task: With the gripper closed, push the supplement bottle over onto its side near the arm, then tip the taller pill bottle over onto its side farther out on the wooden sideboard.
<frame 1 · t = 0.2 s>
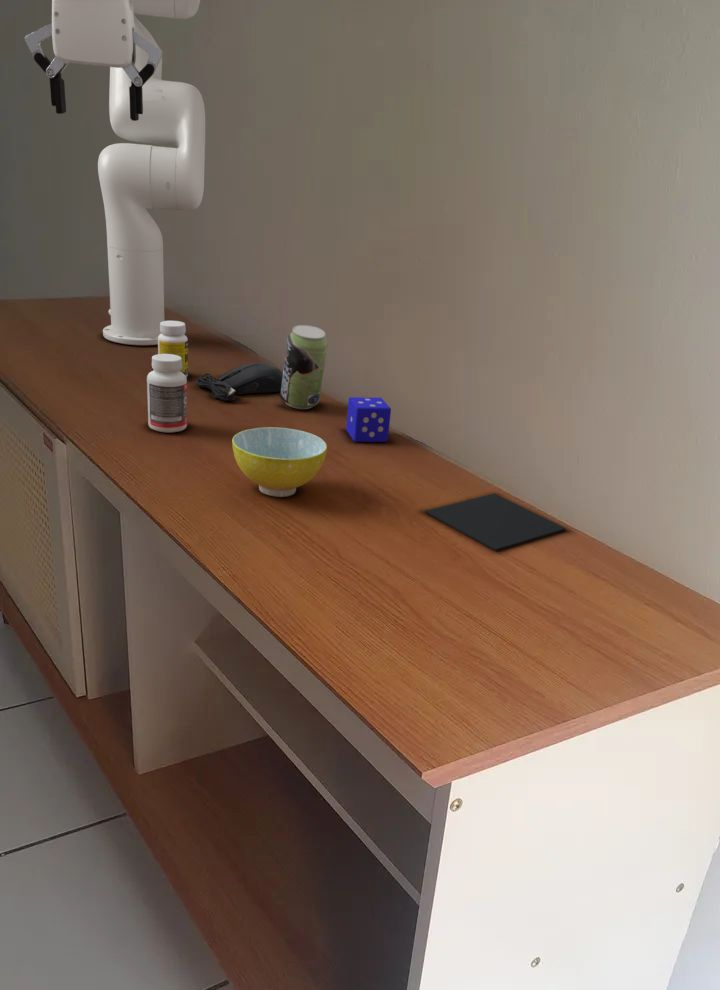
hand: (98, 116, 126), 37 cm above the table, tool pointing down, fingers open, 9 cm apart
die: (366, 437, 136), on the table
computer mouse: (247, 391, 150), on the table
supplement bottle: (173, 377, 154), on the table
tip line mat: (494, 521, 113), on the table
beverage can: (301, 407, 145), on the table
pill bottle: (167, 428, 132), on the table
bowl: (277, 491, 116), on the table
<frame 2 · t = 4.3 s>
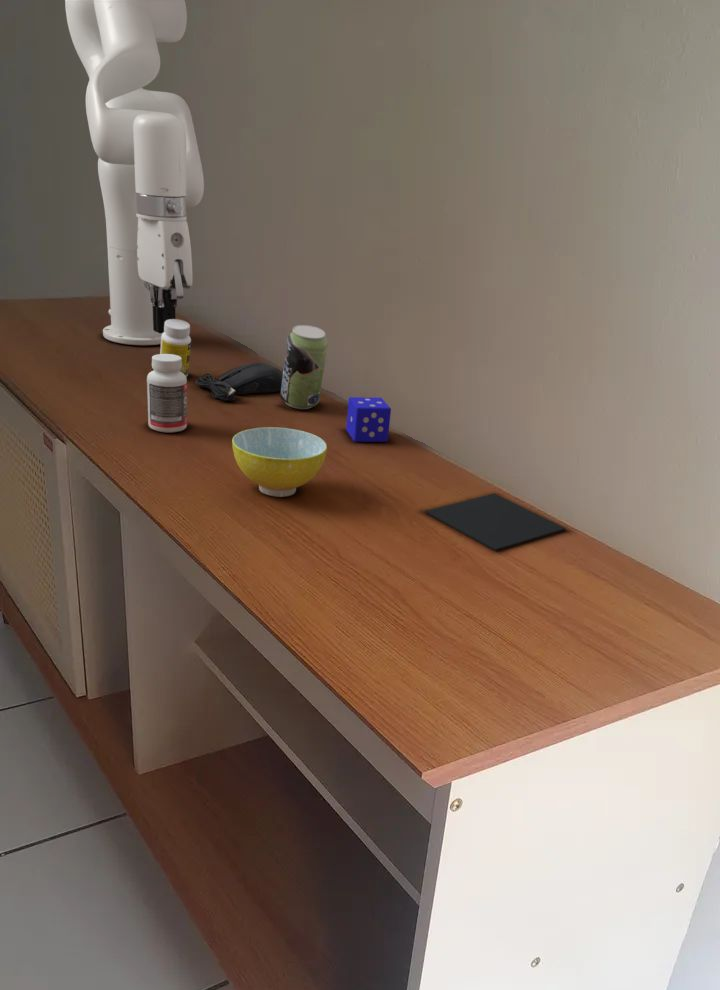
hand: (164, 331, 152), 7 cm above the table, tool pointing down, fingers closed
supplement bottle: (173, 374, 153), on the table, touching gripper
everything else where it was.
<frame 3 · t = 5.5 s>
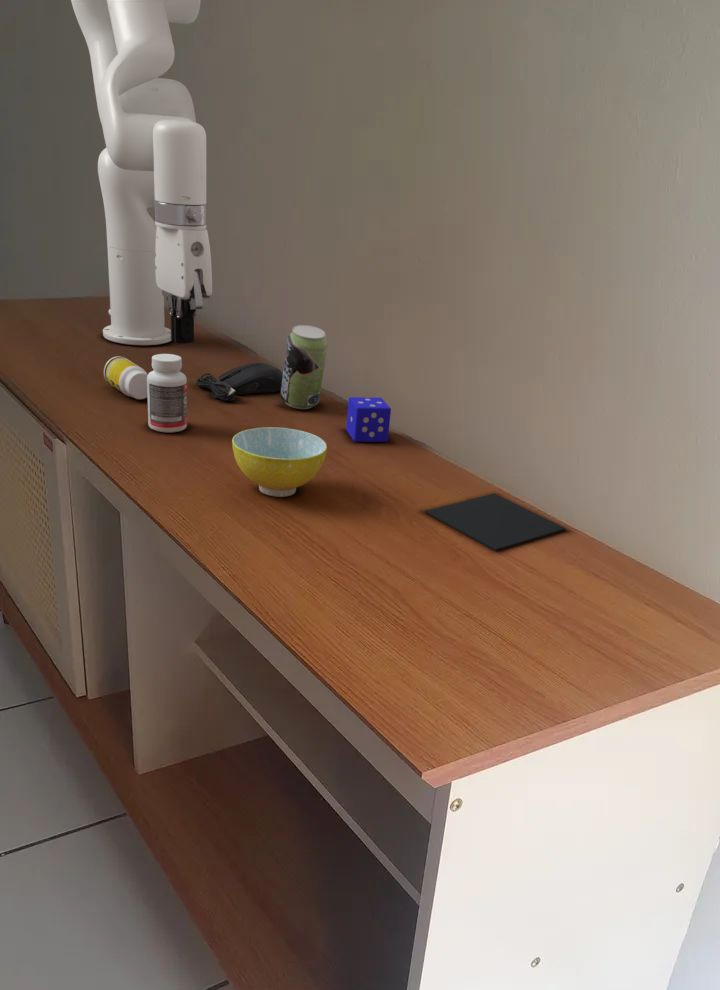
hand: (182, 341, 148), 6 cm above the table, tool pointing down, fingers closed
supplement bottle: (117, 371, 145), point 2 cm above the table
everything else where it was.
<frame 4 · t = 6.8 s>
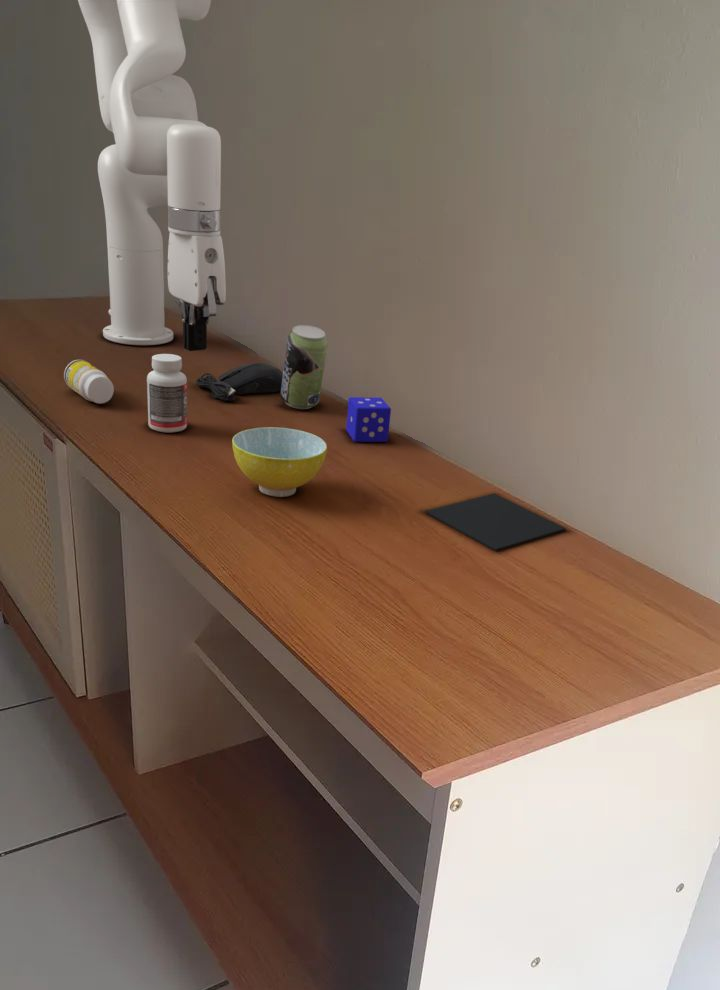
hand: (194, 348, 146), 6 cm above the table, tool pointing down, fingers closed
supplement bottle: (78, 374, 142), point 2 cm above the table
everything else where it was.
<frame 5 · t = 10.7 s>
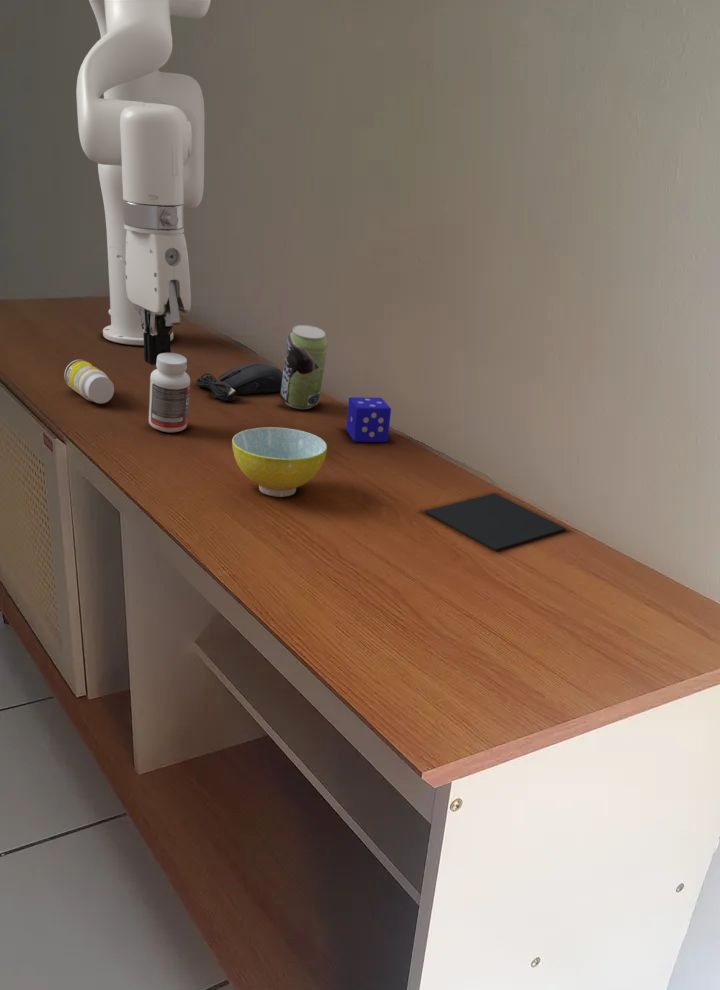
hand: (157, 362, 129), 9 cm above the table, tool pointing down, fingers closed
pill bottle: (167, 426, 132), on the table, touching gripper
everything else where it was.
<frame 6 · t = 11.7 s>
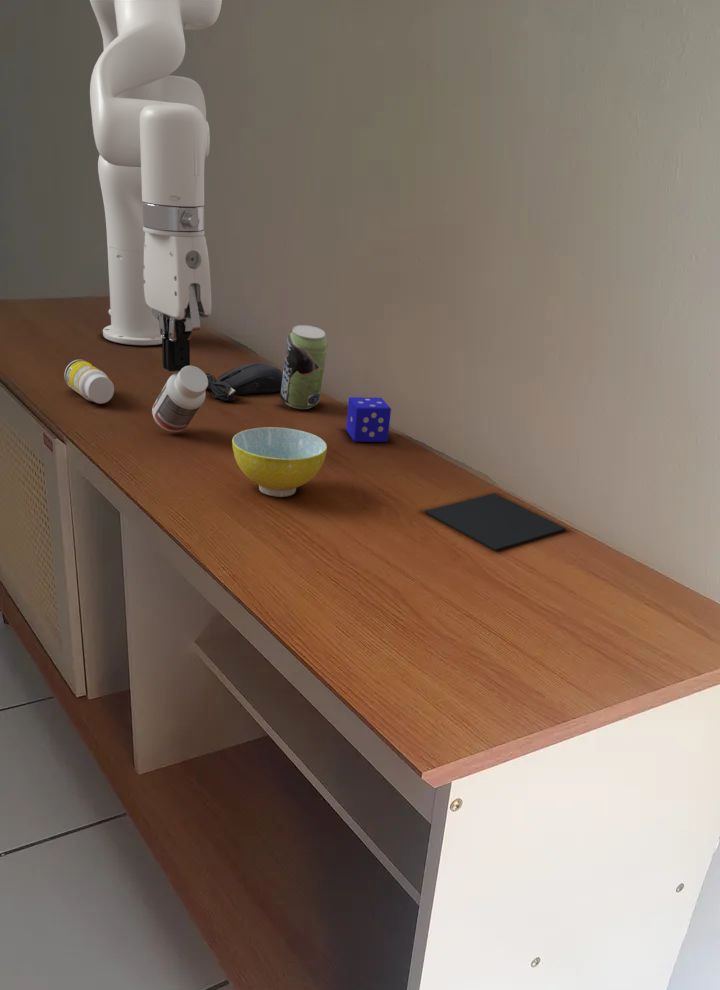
hand: (176, 368, 125), 9 cm above the table, tool pointing down, fingers closed
pill bottle: (169, 416, 131), point 2 cm above the table, touching gripper
everything else where it was.
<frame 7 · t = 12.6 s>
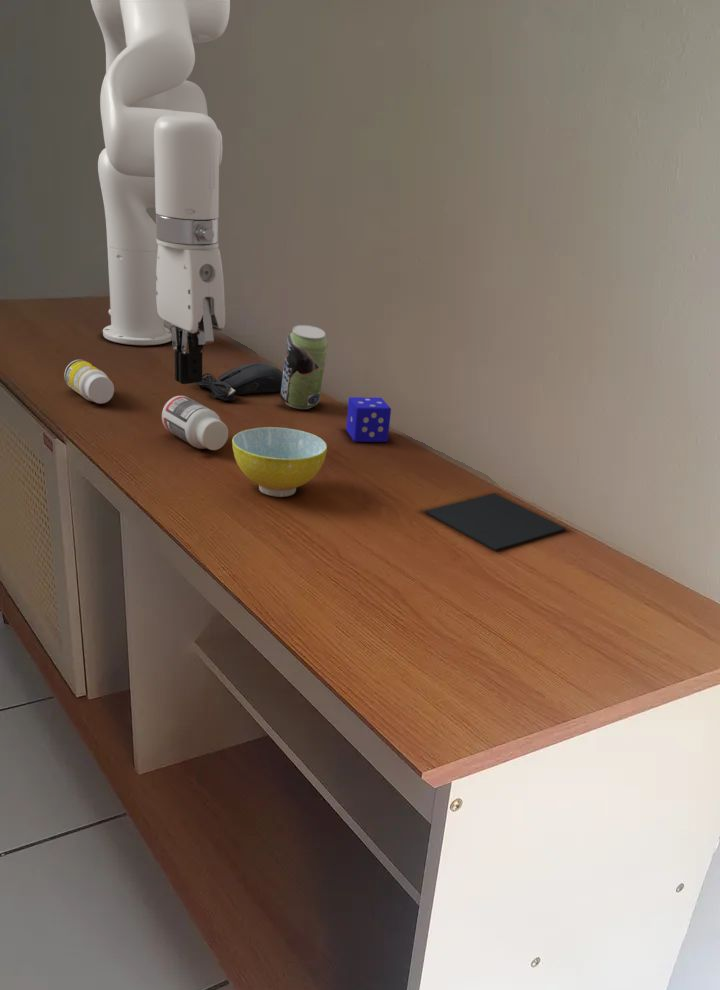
hand: (188, 381, 124), 8 cm above the table, tool pointing down, fingers closed
pill bottle: (177, 413, 129), point 3 cm above the table
everything else where it was.
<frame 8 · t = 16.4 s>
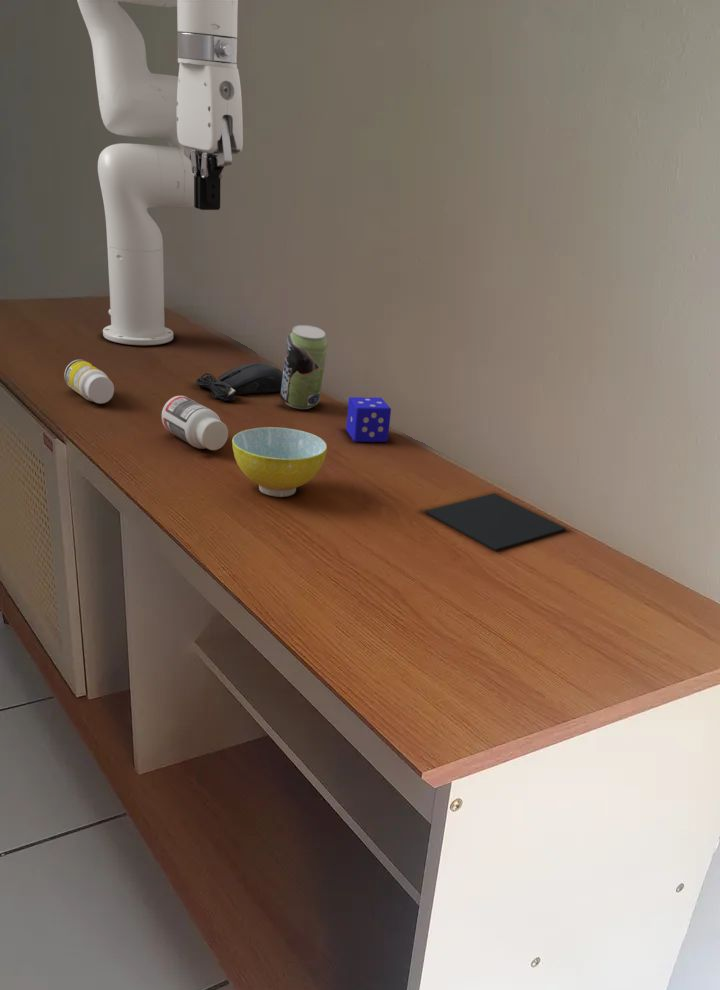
hand: (207, 208, 129), 27 cm above the table, tool pointing down, fingers closed
nothing on the table moved.
at the end: supplement bottle tilted 90°; pill bottle tilted 90°; pill bottle inside the target area (3.5 cm from its centre), point 2.7 cm above the table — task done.
